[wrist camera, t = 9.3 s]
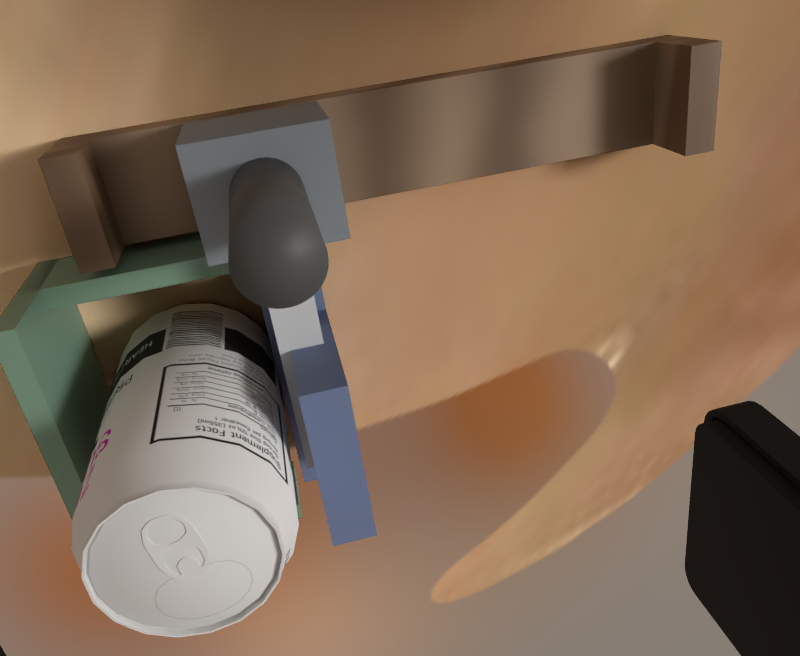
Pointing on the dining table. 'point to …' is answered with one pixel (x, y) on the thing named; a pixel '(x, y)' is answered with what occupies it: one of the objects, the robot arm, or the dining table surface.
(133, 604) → the supplement can
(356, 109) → the rail
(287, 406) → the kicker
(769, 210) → the dining table surface
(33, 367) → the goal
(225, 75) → the dining table surface
